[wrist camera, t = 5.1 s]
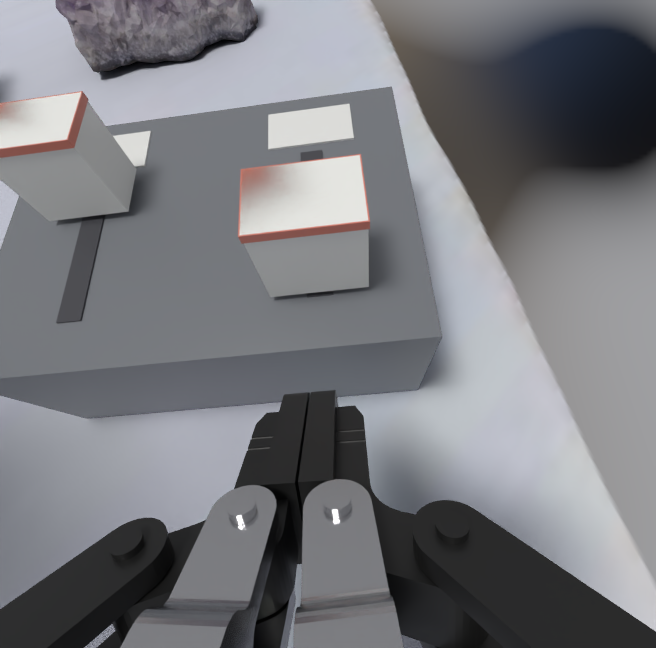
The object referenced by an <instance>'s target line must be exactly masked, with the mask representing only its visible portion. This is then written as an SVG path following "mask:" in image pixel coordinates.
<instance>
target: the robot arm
mask: <svg viewBox="0 0 656 648" xmlns="http://www.w3.org/2000/svg"><path fill="white" fill-rule="evenodd" d="M297 564H302V587H301V606H300V607H297V609H296V613H295V623H294V647H293V648H404V647H403V642H402V637H401V634H402V635H405V636H408V637H411V638H414V639H416V640H419V641H420V642H421V645H422V646H423V648H656V632H655V631H654V630H652V629H651V628H650V627H648V626H647V625H645V624H644V623H642V622H641V621H639V620H638V619H636V618H635V617H633V616H632V615H630V614H629V613H627V612H626V611H624V610H623V609H621V608H620V607H618V606H617V605H615V604H614V603H613V602H611V601H610V600H608V599H607V598H605V597H604V596H602V595H601V594H599V593H598V592H596V591H595V590H593V589H592V588H590V587H589V586H587V585H586V584H584V583H583V582H581V581H580V580H578V579H577V578H576V577H574V576H573V575H571V574H570V573H568V572H567V571H565V570H564V569H562V568H561V567H559V566H558V565H556V564H555V563H553V562H552V561H550V560H549V559H547V558H546V557H544V556H543V555H541V554H540V553H539V552H537V551H536V550H534V549H533V548H531V547H530V546H528V545H527V544H525V543H524V542H522V541H521V540H519V539H518V538H516V537H515V536H513V535H512V534H510V533H509V532H507V531H506V530H504V529H503V528H502V527H500V526H499V525H497V524H496V523H494V522H493V521H491V520H490V519H488V518H487V517H485V516H484V515H482V514H481V513H479V512H478V511H476V510H475V509H473V508H471V507H470V506H468V505H465V504H463V503H460V502H456V501H448V500H442V501H435V502H432V503H429V504H427V505H425V506H424V507H422V508H421V509H420V510H419V511H418V512H417V514H416V515H415V514H410V513H405V512H401V511H398V510H395V509H392V508H390V507H388V506H386V505H385V504H383V503H382V502H381V501H379V500H378V498H377V497H376V496H375V495H374V493H373V492H372V489H371V486H370V479H369V469H368V459H367V448H366V438H365V428H364V418H363V415H362V414H361V413H360V411H359V410H358V409H357V408H356V407H355V406H346V407H338V402H337V394H336V390H329V391H317V392H311V393H309V392H306V393H294V394H284V396H283V399H282V403H281V407H280V411H279V412H273V413H266V414H265V416H264V417H263V418H262V419H261V420H260V421H259V422H258V423H257V424H256V426H255V429H254V432H253V435H252V440H251V441H250V444H249V447H248V451H247V453H246V455H245V458H244V461H243V464H242V467H241V470H240V473H239V476H238V479H237V482H236V485H235V488H234V490H231V491H230V492H228V493H226V494H225V495H224V496H222V497H221V498H220V499H219V500H218V501H217V502H216V503H215V504H214V506H213V507H212V509H211V511H210V513H209V515H208V517H207V519H206V520H205V521H203V522H200V523H198V524H195V525H192V526H189V527H186V528H183V529H180V530H177V531H174V532H171V533H168V532H167V529H166V527H165V525H164V524H163V522H161V521H160V520H158V519H155V518H141V519H137V520H133V521H130V522H128V523H126V524H124V525H122V526H120V527H118V528H117V529H115V530H114V531H112V532H111V533H109V534H108V535H106V536H105V537H103V538H102V539H101V540H99V541H98V542H96V543H95V544H93V545H92V546H91V547H89V548H88V549H86V550H85V551H83V552H82V553H81V554H79V555H78V556H76V557H75V558H73V559H72V560H70V561H69V562H68V563H66V564H65V565H63V566H62V567H60V568H59V569H58V570H56V571H55V572H53V573H52V574H50V575H49V576H48V577H46V578H45V579H43V580H42V581H40V582H39V583H37V584H36V585H35V586H33V587H32V588H30V589H29V590H27V591H26V592H25V593H23V594H22V595H20V596H19V597H17V598H16V599H15V600H13V601H12V602H10V603H9V604H7V605H6V606H4V607H3V608H2V609H0V648H84V647H85V646H86V645H88V644H89V643H90V642H91V641H92V640H93V639H95V638H96V637H97V636H98V635H99V634H100V633H101V632H103V631H104V630H105V629H106V628H107V627H108V626H110V625H111V624H113V626H114V628H115V630H116V631H115V632H114V633H113V634H112V635H111V636H109V637H108V638H107V639H106V640H105V641H104V642H103V643H101V644H100V645H99V646H98V647H97V648H287V646H288V641H289V635H290V629H291V624H292V618H293V612H294V607H295V599H296V595H295V589H294V585H295V577H296V568H297Z"/></svg>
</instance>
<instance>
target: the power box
mask: <svg viewBox="0 0 656 648" xmlns="http://www.w3.org/2000/svg"><path fill="white" fill-rule="evenodd" d="M106 127H107V129H108V130H109V132H110V133H111V134H112V136H113V137H114V138H115V140H116V141H117V143H118V144H119V145H120V147H121V148H122V150H123V151H124V152H125V154H126V155H127V157H128V158H129V159H130V161H131V162H132V164H133V165H134V166H135V168H136V169H137V170H136V175H135V180H134V185H133V190H132V196H131V201H130V206H129V211H128V212H121V213H113V214H105V215H96V216H88V217H80V218H72V219H64V220H56V221H48V220H47V219H46V218H45V217H44V216H43V215H41V214H40V213H39V212H38V211H37V210H35V209H34V208H33V207H32V206H31V205H30V204H28V203H27V202H26V201H25V200H24V199H23V198H21V197H20V196H19V198H18V201H17V204H16V207H15V209H14V212H13V215H12V218H11V221H10V224H9V227H8V229H7V232H6V235H5V238H4V241H3V244H2V247H1V249H0V395H1V396H5V397H8V398H12V399H16V400H19V401H23V402H27V403H31V404H34V405H38V406H42V407H46V408H49V409H53V410H57V411H60V412H64V413H68V414H72V415H75V416H79V417H83V418H99V417H110V416H122V415H133V414H145V413H156V412H168V411H180V410H191V409H203V408H214V407H226V406H238V405H249V404H261V403H272V402H282V399H283V396H284V394H294V393H306V392H309V393H311V392H317V391H329V390H336V394H337V397H342V396H353V395H365V394H377V393H388V392H400V391H411V390H418V388H419V386H420V384H421V382H422V380H423V377H424V375H425V373H426V371H427V369H428V366H429V364H430V362H431V360H432V358H433V355H434V353H435V351H436V349H437V347H438V344H439V342H440V340H441V338H442V333H441V328H440V323H439V318H438V313H437V308H436V303H435V299H434V294H433V289H432V284H431V279H430V274H429V269H428V264H427V259H426V254H425V249H424V244H423V239H422V234H421V229H420V224H419V219H418V214H417V209H416V204H415V199H414V194H413V189H412V184H411V179H410V174H409V169H408V164H407V159H406V155H405V150H404V145H403V140H402V135H401V130H400V125H399V120H398V115H397V110H396V105H395V100H394V95H393V90H392V87H386V88H379V89H371V90H364V91H357V92H350V93H343V94H335V95H328V96H321V97H314V98H306V99H299V100H292V101H285V102H278V103H270V104H263V105H256V106H249V107H242V108H234V109H227V110H220V111H213V112H205V113H198V114H191V115H184V116H177V117H169V118H162V119H155V120H148V121H140V122H133V123H126V124H119V125H112V126H106ZM356 154H361V158H362V166H363V173H364V181H365V188H366V195H367V203H368V210H369V217H370V229H368V238H369V287H363V288H354V289H344V290H335V291H325V292H316V293H306V294H297V295H287V296H277V297H270V295H269V293H268V291H267V289H266V287H265V285H264V283H263V281H262V279H261V277H260V275H259V273H258V271H257V269H256V267H255V265H254V263H253V261H252V259H251V257H250V255H249V253H248V251H247V249H246V247H245V245H244V244H241V242H240V240H239V238H238V224H239V200H240V176H241V169H247V168H254V167H262V166H270V165H278V164H286V163H294V162H301V161H309V160H317V159H325V158H333V157H341V156H348V155H356Z"/></svg>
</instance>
